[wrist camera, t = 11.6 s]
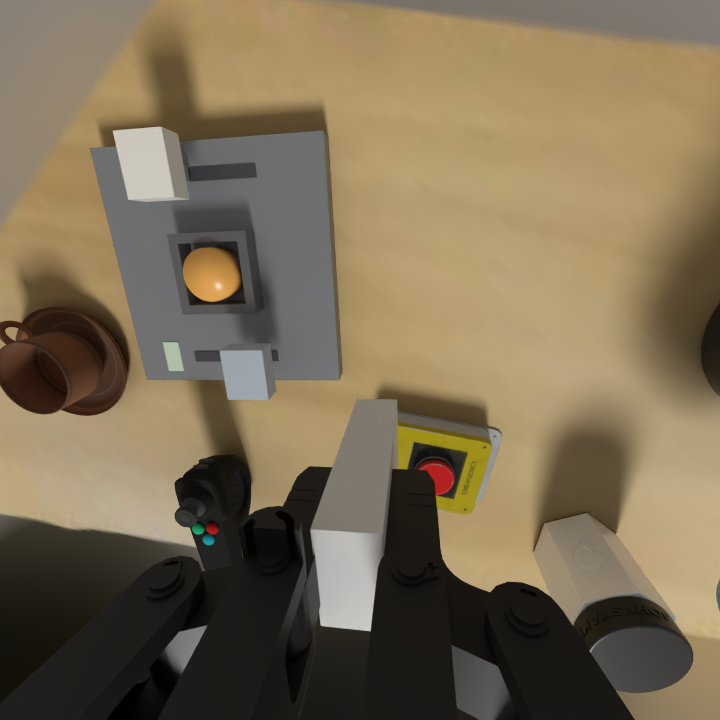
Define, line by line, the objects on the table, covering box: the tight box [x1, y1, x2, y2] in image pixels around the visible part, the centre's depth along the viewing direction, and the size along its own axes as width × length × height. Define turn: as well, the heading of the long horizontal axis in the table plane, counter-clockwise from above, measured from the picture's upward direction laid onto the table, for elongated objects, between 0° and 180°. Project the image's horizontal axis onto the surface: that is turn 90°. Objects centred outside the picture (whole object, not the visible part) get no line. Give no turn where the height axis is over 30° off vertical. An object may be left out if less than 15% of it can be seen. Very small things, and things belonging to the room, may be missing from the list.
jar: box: [534, 513, 693, 693], centre depth 35 cm, size 9×8×12 cm
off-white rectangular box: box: [113, 127, 190, 202], centre depth 28 cm, size 4×4×5 cm
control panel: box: [90, 130, 342, 380], centre depth 33 cm, size 20×21×4 cm
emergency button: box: [397, 411, 502, 514], centre depth 38 cm, size 9×4×15 cm
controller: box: [175, 455, 251, 571], centre depth 38 cm, size 4×12×10 cm, turn 7°
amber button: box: [183, 247, 243, 302], centre depth 32 cm, size 4×4×2 cm
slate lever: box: [220, 343, 276, 400], centre depth 33 cm, size 4×4×5 cm
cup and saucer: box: [0, 307, 127, 416], centre depth 37 cm, size 12×12×6 cm
